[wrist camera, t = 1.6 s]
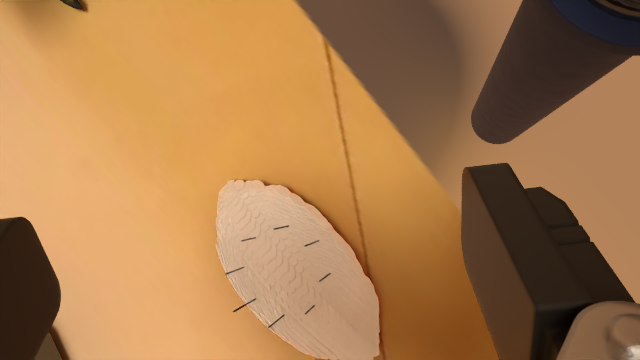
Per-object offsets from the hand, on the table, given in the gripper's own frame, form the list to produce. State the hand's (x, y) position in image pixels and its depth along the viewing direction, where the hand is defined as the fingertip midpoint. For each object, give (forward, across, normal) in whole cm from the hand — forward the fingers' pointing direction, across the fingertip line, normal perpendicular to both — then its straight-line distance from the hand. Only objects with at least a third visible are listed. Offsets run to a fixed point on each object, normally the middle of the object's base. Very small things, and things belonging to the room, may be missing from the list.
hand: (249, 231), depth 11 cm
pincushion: (+15, +1, +14) cm, 20 cm away
